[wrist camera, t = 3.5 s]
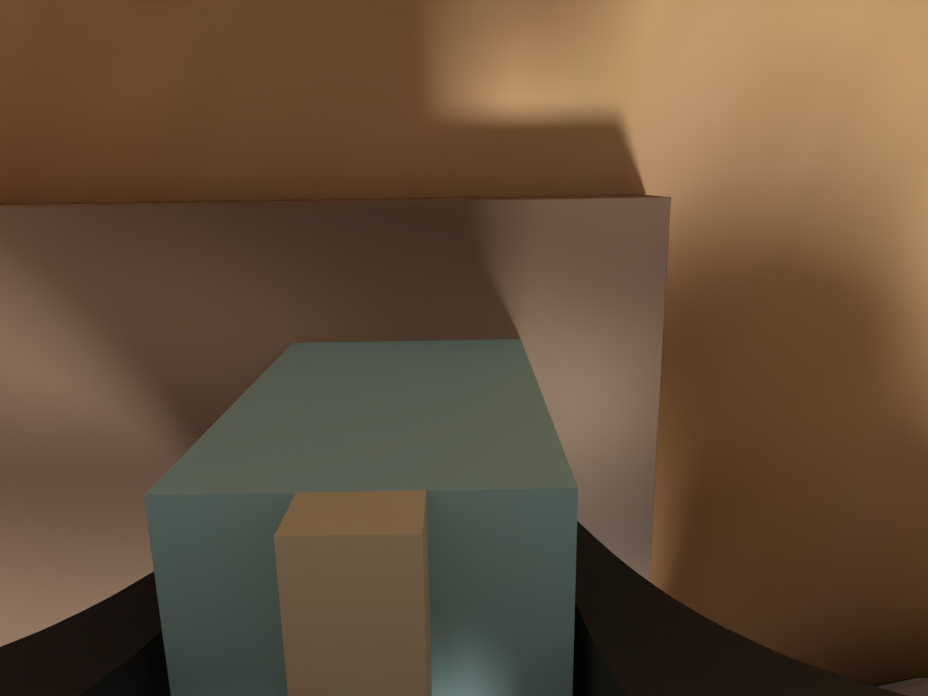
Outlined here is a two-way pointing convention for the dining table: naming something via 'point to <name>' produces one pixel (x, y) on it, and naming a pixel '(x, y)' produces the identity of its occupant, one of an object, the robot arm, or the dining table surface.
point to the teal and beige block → (372, 530)
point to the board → (297, 321)
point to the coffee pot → (909, 687)
